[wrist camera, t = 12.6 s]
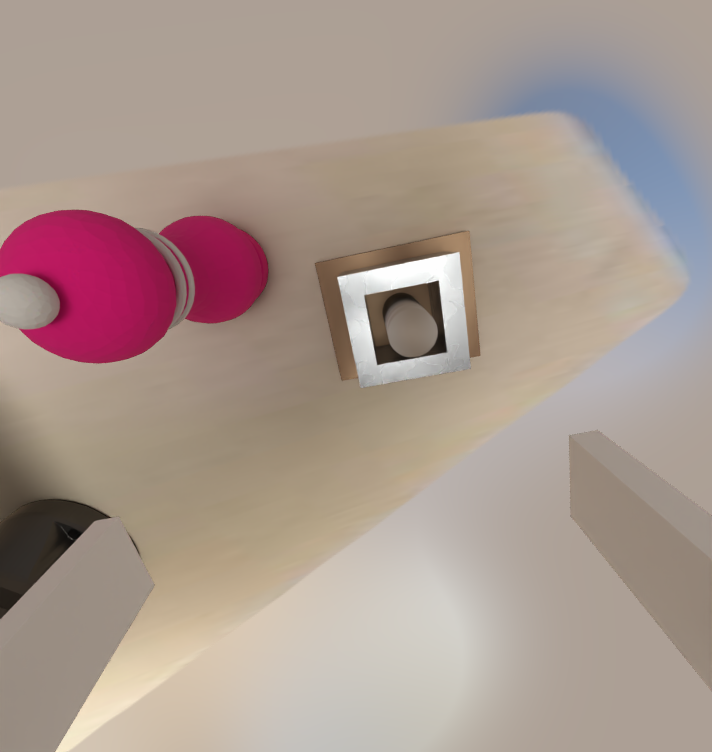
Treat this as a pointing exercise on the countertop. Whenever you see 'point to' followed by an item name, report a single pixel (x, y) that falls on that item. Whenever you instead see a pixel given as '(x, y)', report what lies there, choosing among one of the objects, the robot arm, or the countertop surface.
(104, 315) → the pepper mill
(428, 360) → the grey square ring block
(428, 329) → the peg on square base
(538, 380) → the countertop surface
